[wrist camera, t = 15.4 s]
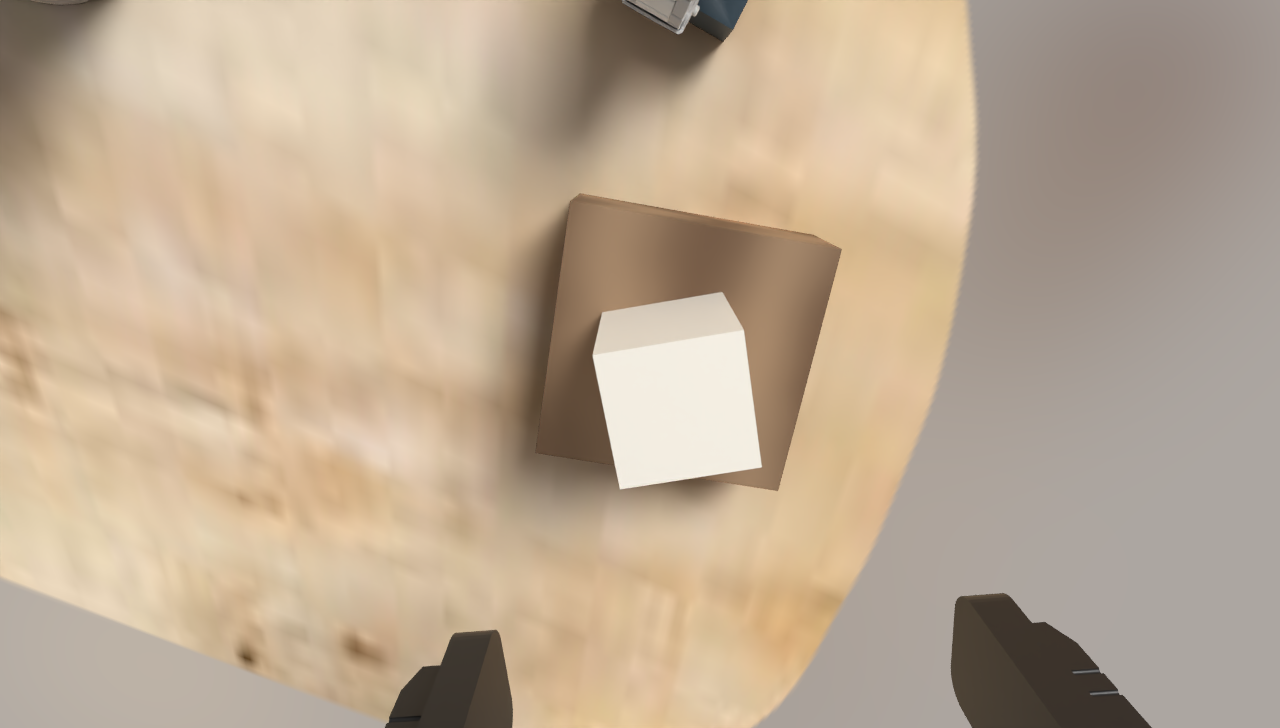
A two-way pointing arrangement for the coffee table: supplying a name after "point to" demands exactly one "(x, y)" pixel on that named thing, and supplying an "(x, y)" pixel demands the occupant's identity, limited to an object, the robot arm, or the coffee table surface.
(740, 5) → the watch
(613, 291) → the walnut block
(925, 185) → the coffee table surface
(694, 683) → the coffee table surface
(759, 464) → the cream block
